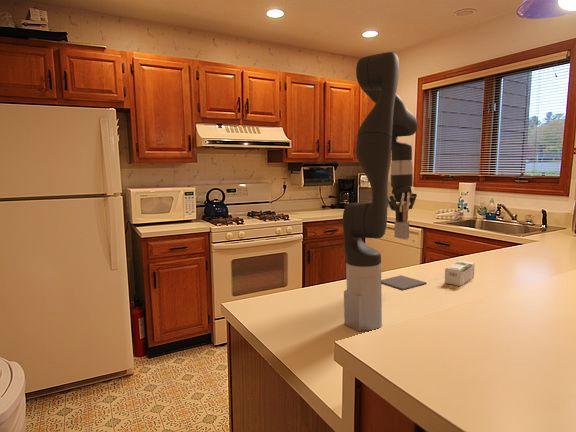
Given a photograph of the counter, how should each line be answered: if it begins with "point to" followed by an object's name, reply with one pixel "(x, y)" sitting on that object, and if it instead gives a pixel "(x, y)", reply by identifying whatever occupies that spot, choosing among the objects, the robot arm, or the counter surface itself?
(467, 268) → the syrup box
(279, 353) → the counter surface
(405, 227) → the brown piece
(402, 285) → the mat
